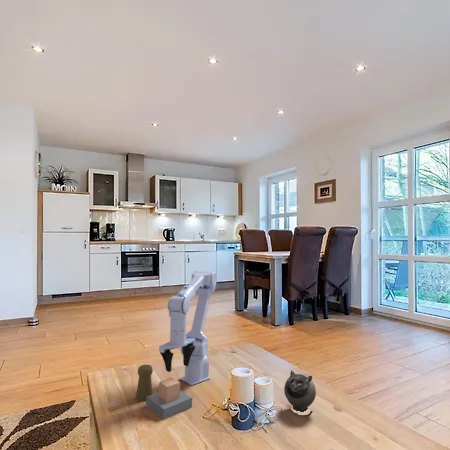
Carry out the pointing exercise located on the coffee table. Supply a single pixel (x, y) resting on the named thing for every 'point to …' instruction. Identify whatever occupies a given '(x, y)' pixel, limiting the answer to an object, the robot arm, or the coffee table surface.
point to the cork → (144, 382)
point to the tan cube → (169, 390)
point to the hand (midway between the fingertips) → (177, 368)
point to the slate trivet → (168, 404)
